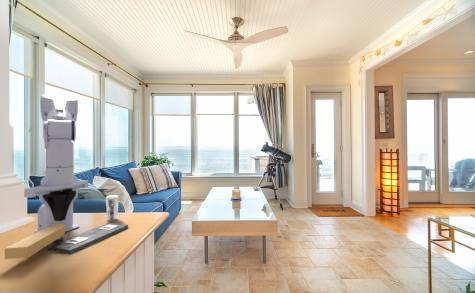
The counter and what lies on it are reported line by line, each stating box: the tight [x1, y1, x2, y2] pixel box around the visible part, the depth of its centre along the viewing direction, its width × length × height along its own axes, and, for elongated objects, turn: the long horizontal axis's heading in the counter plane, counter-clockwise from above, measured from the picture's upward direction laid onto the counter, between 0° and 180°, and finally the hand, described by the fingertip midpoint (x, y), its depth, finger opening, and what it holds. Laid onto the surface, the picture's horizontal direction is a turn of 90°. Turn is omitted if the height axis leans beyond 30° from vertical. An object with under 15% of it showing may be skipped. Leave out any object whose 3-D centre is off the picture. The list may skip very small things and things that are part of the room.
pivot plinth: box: [52, 235, 64, 244], centre depth 67 cm, size 2×2×2 cm
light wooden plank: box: [4, 224, 66, 260], centre depth 60 cm, size 16×4×2 cm, turn 8°
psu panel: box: [46, 222, 129, 255], centre depth 70 cm, size 8×20×1 cm, turn 164°
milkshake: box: [104, 192, 121, 222], centre depth 87 cm, size 4×5×10 cm
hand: (59, 220), depth 59 cm, fingers closed
